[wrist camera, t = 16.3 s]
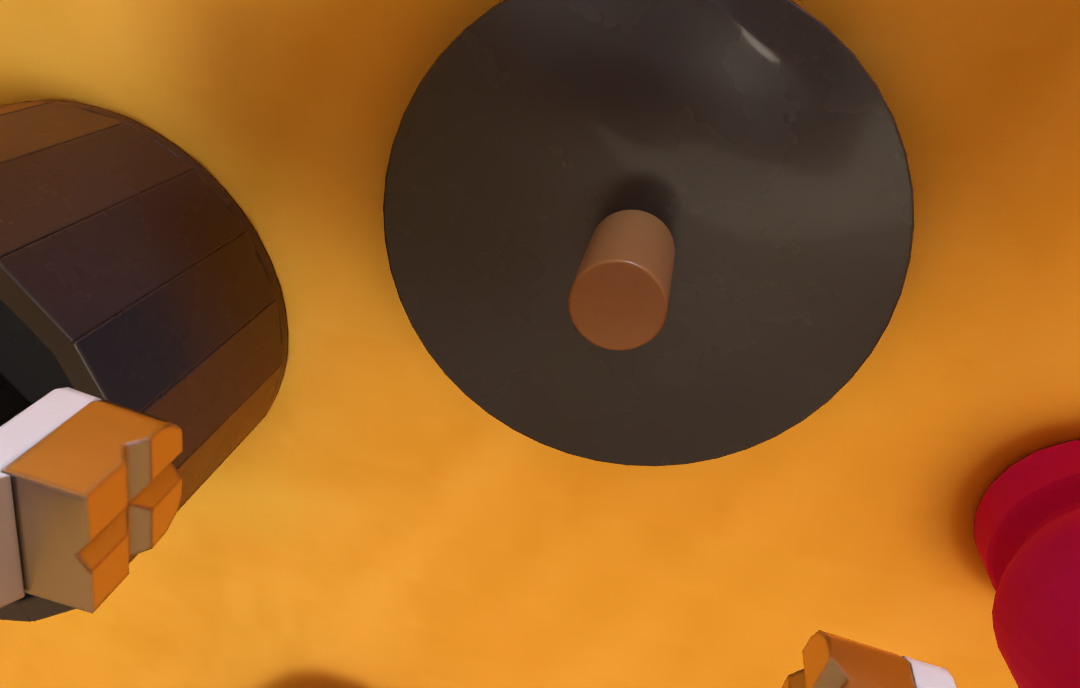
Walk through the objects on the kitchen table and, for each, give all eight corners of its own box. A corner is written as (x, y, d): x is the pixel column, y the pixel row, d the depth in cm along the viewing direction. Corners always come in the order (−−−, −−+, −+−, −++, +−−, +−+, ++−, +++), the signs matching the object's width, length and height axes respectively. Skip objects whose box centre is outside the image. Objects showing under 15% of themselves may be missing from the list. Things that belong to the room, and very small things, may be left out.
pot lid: (440, -108, 21) (364, -119, 16) (1010, 47, 20) (1096, 81, 16) (368, 370, 28) (300, 456, 24) (786, 500, 27) (800, 615, 23)
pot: (-99, 47, 26) (-427, 95, 18) (308, 169, 25) (137, 271, 18) (-49, 396, 32) (-276, 535, 25) (275, 502, 32) (140, 678, 24)
